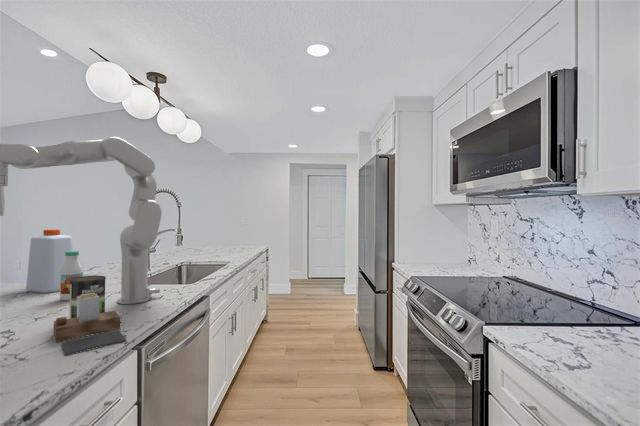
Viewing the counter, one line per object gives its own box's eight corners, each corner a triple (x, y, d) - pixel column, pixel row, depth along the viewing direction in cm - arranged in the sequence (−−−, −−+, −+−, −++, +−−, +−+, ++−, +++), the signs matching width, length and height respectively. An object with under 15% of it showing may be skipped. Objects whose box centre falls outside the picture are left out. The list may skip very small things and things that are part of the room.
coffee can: (110, 317, 115) (111, 277, 115) (77, 325, 106) (77, 282, 106) (96, 311, 120) (97, 274, 120) (63, 319, 112) (64, 278, 112)
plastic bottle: (47, 294, 143) (47, 231, 143) (21, 291, 146) (21, 230, 146) (79, 286, 158) (80, 229, 157) (55, 284, 161) (55, 228, 161)
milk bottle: (55, 299, 135) (56, 251, 135) (75, 295, 142) (75, 249, 142) (67, 301, 132) (67, 253, 132) (87, 297, 139) (87, 250, 139)
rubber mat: (118, 332, 101) (118, 330, 101) (126, 341, 94) (126, 339, 94) (61, 344, 91) (61, 342, 91) (65, 355, 85) (65, 353, 85)
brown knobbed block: (114, 322, 109) (114, 305, 109) (120, 329, 104) (120, 311, 104) (53, 334, 98) (53, 316, 98) (55, 342, 93) (56, 323, 93)
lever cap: (96, 315, 105) (96, 291, 104) (98, 319, 101) (99, 294, 101) (76, 318, 101) (76, 293, 101) (79, 322, 97) (79, 297, 97)
